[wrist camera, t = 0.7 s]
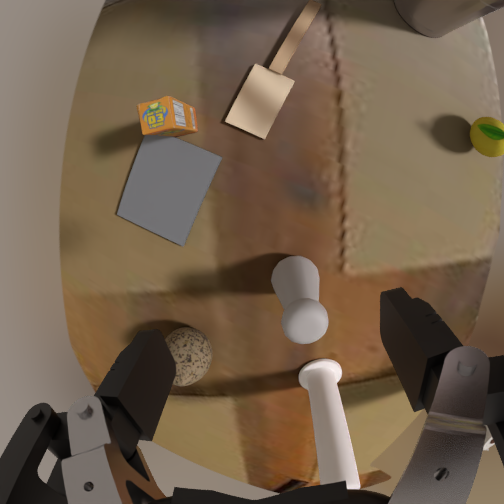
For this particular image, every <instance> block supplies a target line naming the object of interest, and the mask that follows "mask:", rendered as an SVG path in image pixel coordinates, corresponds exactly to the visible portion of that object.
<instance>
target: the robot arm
mask: <svg viewBox="0 0 504 504" xmlns="http://www.w3.org/2000/svg"><path fill="white" fill-rule="evenodd" d="M394 3H395V6H396V8H397V10H398V12H399V14H400V15H401V16H402V18H403V19H404V20H405V21H406V22H407V23H408V24H409V25H410V26H411V27H412V28H414V29H415V30H416V31H418V32H420V33H421V34H424V35H426V36H429V37H434V38H438V37H442V36H444V35H445V34H447V33H449V32H451V31H453V30H455V29H458V28H460V27H462V26H464V25H466V24H468V23H470V22H472V21H474V20H476V19H478V18H480V17H483V16H485V15H487V14H489V13H491V12H494V11H496V10H498V9H501V8H503V7H504V0H394ZM380 334H381V339H382V343H383V345H384V347H385V349H386V351H387V353H388V355H389V358H390V360H391V362H392V364H393V366H394V368H395V370H396V372H397V375H398V377H399V379H400V381H401V383H402V386H403V388H404V390H405V392H406V395H407V397H408V399H409V402H410V404H411V406H412V409H413V411H414V412H416V411H419V410H422V409H424V408H425V410H426V412H427V414H428V416H427V419H426V421H425V424H424V427H423V430H422V432H421V435H420V437H419V439H418V442H417V444H416V446H415V449H414V451H413V453H412V455H411V458H410V460H409V462H408V464H407V466H406V468H405V470H404V472H403V474H402V476H401V478H400V480H399V482H398V484H397V486H396V488H395V490H394V491H393V493H392V495H391V497H388V496H386V495H384V494H380V493H377V492H372V491H367V490H358V489H347V485H346V480H345V481H340V482H335V483H329V484H323V485H317V486H310V487H302V488H298V489H295V490H292V491H289V492H286V493H282V494H279V495H275V496H272V497H268V498H263V499H259V500H249V499H244V498H240V497H236V496H231V495H227V494H224V493H220V492H216V491H212V490H198V489H187V488H178V487H175V488H174V492H173V496H171V497H166V496H165V495H164V494H163V493H162V491H161V490H160V489H159V488H158V486H157V484H156V482H155V480H154V478H153V476H152V474H151V472H150V470H149V467H148V465H147V463H146V461H145V459H144V456H143V454H142V452H141V449H140V448H139V447H138V446H137V444H138V441H139V440H146V441H152V439H153V436H154V434H155V431H156V428H157V425H158V422H159V420H160V417H161V414H162V411H163V408H164V406H165V403H166V400H167V397H168V395H169V392H170V389H171V387H172V384H173V381H174V379H175V376H176V363H175V360H174V358H173V356H172V354H171V352H170V350H169V348H168V345H167V343H166V341H165V339H164V337H163V335H162V333H161V331H160V330H158V329H154V330H143V331H139V332H138V333H137V335H136V336H135V338H134V339H133V341H132V342H131V344H130V345H128V346H127V347H126V348H125V349H124V350H123V351H122V352H121V353H120V354H119V356H118V357H117V359H116V360H115V363H114V364H113V365H112V367H111V368H110V371H109V372H108V373H107V375H106V377H105V378H104V380H103V381H102V383H101V385H100V386H99V388H98V390H97V391H96V393H95V395H94V396H86V397H82V398H80V399H78V400H77V401H76V402H74V403H73V404H72V405H71V407H70V408H69V410H68V412H62V413H56V412H54V410H53V409H52V408H51V407H50V405H49V404H47V403H40V404H37V405H35V406H33V407H32V408H31V409H30V410H29V411H28V412H27V414H26V415H25V417H24V418H23V420H22V422H21V423H20V425H19V427H18V428H17V430H16V432H15V433H14V435H13V437H12V438H11V440H10V442H9V443H8V445H7V447H6V449H5V451H4V453H3V454H2V456H1V458H0V504H466V502H467V499H468V496H469V494H470V491H471V488H472V485H473V482H474V479H475V476H476V473H477V469H478V466H479V462H480V459H481V455H482V451H483V447H484V443H485V438H486V432H487V428H486V426H483V425H487V427H488V429H489V431H490V433H491V436H492V438H493V440H494V443H495V445H496V447H497V450H498V452H499V455H500V458H501V460H502V463H503V465H504V355H502V356H496V357H487V355H486V354H485V353H484V352H483V351H481V350H480V349H478V348H475V347H471V346H463V345H462V344H461V342H460V341H459V340H458V338H457V337H456V336H455V335H454V333H453V332H452V331H451V330H450V328H449V327H448V326H447V325H446V323H445V322H444V321H442V319H441V317H440V316H439V315H438V314H436V311H435V310H434V309H433V308H432V307H431V305H430V304H429V303H427V302H425V301H423V300H421V299H419V298H418V297H417V298H414V299H412V298H411V297H410V296H409V295H408V294H407V292H406V291H405V290H404V289H403V288H402V287H400V288H396V289H392V290H388V291H384V292H381V295H380ZM47 449H48V450H49V451H51V452H52V453H53V454H54V455H55V456H56V457H57V458H58V459H57V462H56V464H55V466H54V468H53V470H52V473H51V475H50V477H49V479H48V482H47V484H46V483H44V482H43V481H42V480H41V479H40V478H39V476H38V472H37V469H38V466H39V464H40V462H41V460H42V458H43V456H44V454H45V452H46V450H47Z"/></svg>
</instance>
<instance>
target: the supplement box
mask: <svg viewBox="0 0 504 504" xmlns="http://www.w3.org/2000/svg"><path fill="white" fill-rule="evenodd" d="M137 110H138V114H139V119H140V123H141V128H142V134H143V135H159V136H174V137H176V136H181V135H186V134H190V133H195V132H198V129H197V121H196V114H195V108H194V107H192V106H190V105H187V104H185V103H183V102H181V101H179V100H177V99H174V98H172V97H170V96H165V97H163V98H161V99H157V100H153V101H150V102H146V103H142V104H138V105H137Z"/></svg>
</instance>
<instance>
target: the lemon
mask: <svg viewBox="0 0 504 504" xmlns="http://www.w3.org/2000/svg"><path fill="white" fill-rule="evenodd" d="M470 139H471V142H472V144H473V146H474V147H475V149H476V150H477V151H478V152H480V153H481V154H482V155H485V156H488V157H497V156H501V155H503V154H504V124H503V123H502V122H500V121H499V120H496V119H494V118H491V117H481V118H479V119H477V120H476V121H475V122H474V123H473V125H472V126H471V130H470Z"/></svg>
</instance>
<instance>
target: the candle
mask: <svg viewBox="0 0 504 504" xmlns="http://www.w3.org/2000/svg"><path fill="white" fill-rule="evenodd" d="M341 375H342V370H341V367H340V365H339V364H338V363H337V362H336V361H334V360H331V359H317V360H314V361H311V362H309V363H308V364H306V365H305V366H304V367H303V368H302V369H301V371H300V373H299V382H300V384H301V386H302V387H304V388H305V389H307V390H308V391H309V398H310V405H311V412H312V419H313V426H314V434H315V442H316V450H317V458H318V466H319V475H320V484H321V485H323V484H329V483H335V482H340V481H345V480H346V485H347V489H358V490H359V488H360V482H359V477H358V472H357V467H356V462H355V458H354V453H353V448H352V444H351V440H350V435H349V431H348V427H347V422H346V418H345V414H344V410H343V406H342V402H341V398H340V394H339V390H338V386H337V382H338V381H339V380H340V378H341Z"/></svg>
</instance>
